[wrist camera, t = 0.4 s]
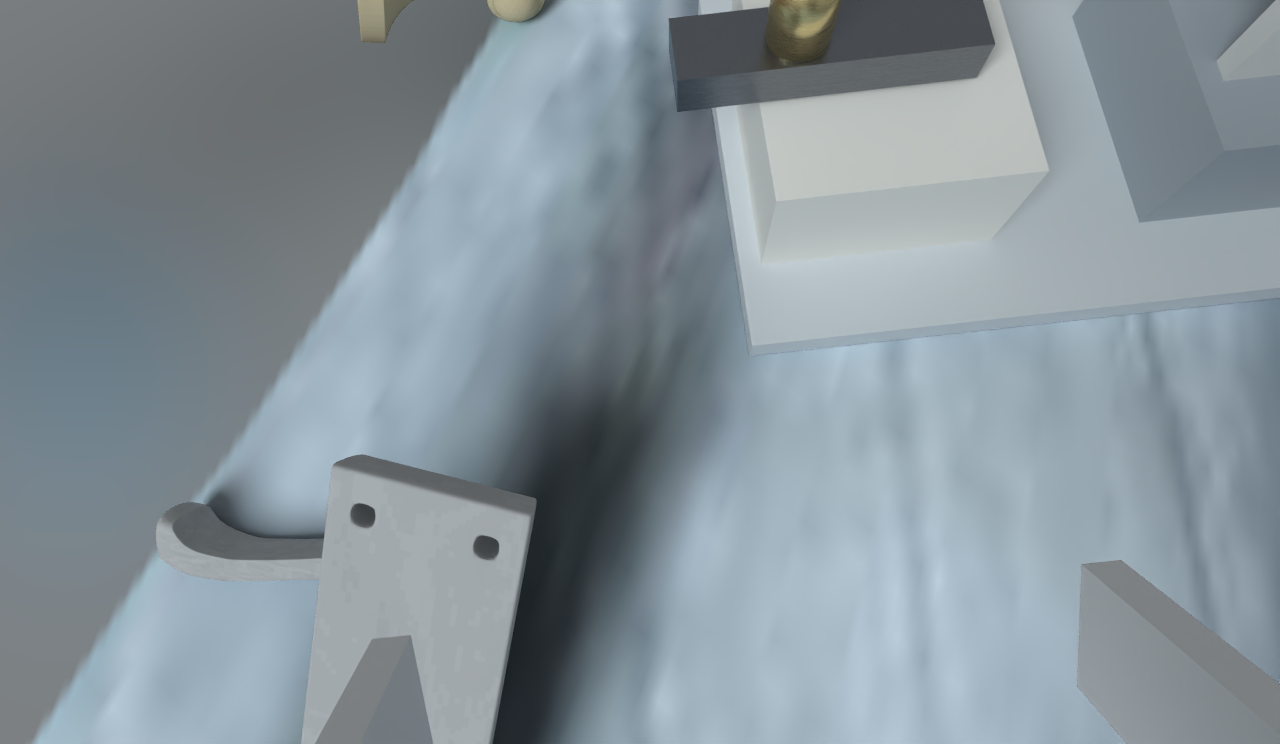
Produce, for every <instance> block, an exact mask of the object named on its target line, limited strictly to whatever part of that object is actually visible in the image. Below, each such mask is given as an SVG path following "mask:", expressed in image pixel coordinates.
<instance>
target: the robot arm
mask: <svg viewBox="0 0 1280 744" xmlns="http://www.w3.org/2000/svg"><path fill="white" fill-rule="evenodd" d="M1077 688H1078V689H1079V690H1080V691H1081V692H1082V693H1083V694H1084V696H1085V697H1086V698H1087V699H1088V700H1089V701H1090V702H1091V704H1092V705H1093V706H1094V707H1095V708H1096V709H1097V710H1098V712H1099V713H1100V714H1101V715H1102V716H1103V717H1104V718H1105V719H1106V721H1107V722H1108V723H1109V724H1110V725H1111V726H1112V727H1113V729H1114V730H1115V731H1116V732H1117V733H1118V734H1119V735H1120V737H1121V738H1122V739H1123V740H1124V741H1125V742H1126V743H1127V744H1280V684H1279V683H1277V682H1276V681H1275V680H1274V679H1272V678H1271V677H1270V676H1268V675H1267V674H1266V673H1265V672H1263V671H1262V670H1261V669H1260V668H1258V667H1257V666H1256V665H1254V664H1253V663H1252V662H1251V661H1249V660H1248V659H1247V658H1245V657H1244V656H1243V655H1242V654H1240V653H1239V652H1238V651H1237V650H1235V649H1234V648H1233V647H1231V646H1230V645H1229V644H1228V643H1226V642H1225V641H1224V640H1222V639H1221V638H1220V637H1219V636H1217V635H1216V634H1215V633H1214V632H1212V631H1211V630H1210V629H1208V628H1207V627H1206V626H1205V625H1203V624H1202V623H1201V622H1199V621H1198V620H1197V619H1196V618H1194V617H1193V616H1192V615H1190V614H1189V613H1188V612H1187V611H1185V610H1184V609H1183V608H1182V607H1180V606H1179V605H1178V604H1176V603H1175V602H1174V601H1173V600H1171V599H1170V598H1169V597H1167V596H1166V595H1165V594H1164V593H1162V592H1161V591H1160V590H1159V589H1157V588H1156V587H1155V586H1153V585H1152V584H1151V583H1150V582H1148V581H1147V580H1146V579H1144V578H1143V577H1142V576H1141V575H1139V574H1138V573H1137V572H1136V571H1134V570H1133V569H1132V568H1130V567H1129V566H1128V565H1127V564H1125V563H1124V562H1123V561H1121V560H1118V561H1108V562H1099V563H1089V564H1081V591H1080V618H1079V644H1078V671H1077ZM315 744H433V740H432V735H431V730H430V725H429V721H428V716H427V711H426V706H425V701H424V696H423V691H422V687H421V682H420V677H419V672H418V667H417V662H416V657H415V653H414V648H413V643H412V638H411V635H406V636H396V637H387V638H377V639H372V640H371V642H370V644H369V646H368V648H367V649H366V651H365V653H364V655H363V657H362V658H361V660H360V662H359V664H358V666H357V668H356V669H355V671H354V673H353V675H352V677H351V679H350V680H349V682H348V684H347V686H346V688H345V689H344V691H343V693H342V695H341V697H340V699H339V700H338V702H337V704H336V706H335V708H334V710H333V711H332V713H331V715H330V717H329V719H328V721H327V722H326V724H325V726H324V728H323V730H322V731H321V733H320V735H319V737H318V739H317V741H316V742H315Z"/></svg>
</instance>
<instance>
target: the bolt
mask: <svg viewBox="0 0 1280 744" xmlns="http://www.w3.org/2000/svg"><path fill="white" fill-rule="evenodd" d="M994 46H995V40H994V37H993V33H992V30H991V26H990V23H989V19H988V16H987V13H986V9H985V6H984V2H983V0H770V4H769V7H764V8H755V9H747V10H738V11H729V12H721V13H712V14H704V15H695V16H686V17H678V18H669V54H670V62H671V69H672V77H673V84H674V91H675V99H676V106H677V112H681V111H690V110H699V109H708V108H716V107H725V106H734V105H743V104H751V103H760V102H769V101H777V100H786V99H795V98H804V97H812V96H821V95H830V94H839V93H847V92H856V91H865V90H874V89H882V88H891V87H900V86H909V85H917V84H926V83H935V82H944V81H952V80H961V79H970V78H977V76H978V74H979V73H980V71H981V69H982V67H983V66H984V64H985V62H986V60H987V58H988V57H989V55H990V53H991V51H992V50H993V48H994Z"/></svg>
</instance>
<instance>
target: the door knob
mask: <svg viewBox="0 0 1280 744" xmlns="http://www.w3.org/2000/svg"><path fill="white" fill-rule="evenodd" d="M412 1H413V0H358V10H359V21H360V30H361V40H362V42H379V43H385V41H386V38H387V35H388V32H389V30H390V27H391V25H392V23H393V21H394V20H395V18H396V17H397V15H398V14H399V13H400V12H401V10H402V9H404V8H405V6H406V5H408V4H409V3H410V2H412ZM544 1H545V0H487V2H488V6H489V8H490V9H491V11H492V12H493V13H494V14H495V15H496V16H497V17H499V18H501V19H503V20H506V21H510V22H522V21H526V20H528V19H530V18H532V17H534V16H535V15H536V14H537V13H538V12H539V11H540V10H541V9H542V7H543V4H544Z"/></svg>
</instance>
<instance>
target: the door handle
mask: <svg viewBox="0 0 1280 744" xmlns="http://www.w3.org/2000/svg"><path fill="white" fill-rule="evenodd" d="M535 510H536V499H535V498H533V497H529V496H525V495H521V494H517V493H513V492H509V491H505V490H501V489H497V488H493V487H489V486H485V485H481V484H477V483H473V482H469V481H465V480H461V479H458V478H454V477H450V476H446V475H442V474H438V473H434V472H430V471H426V470H422V469H418V468H414V467H410V466H406V465H402V464H398V463H394V462H390V461H386V460H382V459H379V458H375V457H371V456H367V455H356V456H351V457H348V458H345V459H343V460H340V461H338V462H336V463H335V464H334V465H333V466H332V472H331V481H330V489H329V498H328V507H327V516H326V525H325V534H324V539H275V538H261V537H256V536H252V535H249V534H246V533H243V532H241V531H238V530H236V529H233V528H231V527H229V526H228V525H226V524H224V523H223V522H222V521H221V520H220V519H219V518H218V517H217V516H216V515H215V513H214V512H213V510H212V509H211V508H210V507H209V506H207V505H203V504H199V503H194V502H187V503H182V504H179V505H177V506H175V507H172V508H171V509H169V510H168V511H166V512H165V513H164V514H163V515H162V516H161V518H160V519H159V521H158V524H157V528H156V543H157V548H158V552H159V556H160V558H161V559H162V560H163V561H164V562H166V563H167V564H169V565H170V566H172V567H173V568H175V569H177V570H179V571H181V572H183V573H186V574H189V575H193V576H197V577H202V578H208V579H215V580H222V581H275V580H319V588H318V597H317V605H316V614H315V623H314V632H313V641H312V650H311V659H310V668H309V677H308V686H307V695H306V704H305V713H304V721H303V730H302V739H301V744H315V742H316V741H317V739H318V737H319V735H320V733H321V731H322V730H323V728H324V726H325V724H326V722H327V721H328V719H329V717H330V715H331V713H332V711H333V710H334V708H335V706H336V704H337V702H338V700H339V699H340V697H341V695H342V693H343V691H344V689H345V688H346V686H347V684H348V682H349V680H350V679H351V677H352V675H353V673H354V671H355V669H356V668H357V666H358V664H359V662H360V660H361V658H362V657H363V655H364V653H365V651H366V649H367V648H368V646H369V644H370V642H371V640H372V639H377V638H387V637H396V636H406V635H411V638H412V643H413V648H414V653H415V657H416V662H417V667H418V672H419V677H420V682H421V687H422V691H423V696H424V701H425V706H426V711H427V716H428V721H429V725H430V730H431V735H432V740H433V744H493V738H494V733H495V728H496V722H497V717H498V711H499V706H500V700H501V695H502V690H503V684H504V679H505V673H506V668H507V662H508V657H509V652H510V646H511V641H512V635H513V630H514V624H515V619H516V614H517V608H518V603H519V597H520V592H521V586H522V581H523V576H524V570H525V565H526V559H527V554H528V548H529V543H530V537H531V532H532V527H533V521H534V516H535Z"/></svg>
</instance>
